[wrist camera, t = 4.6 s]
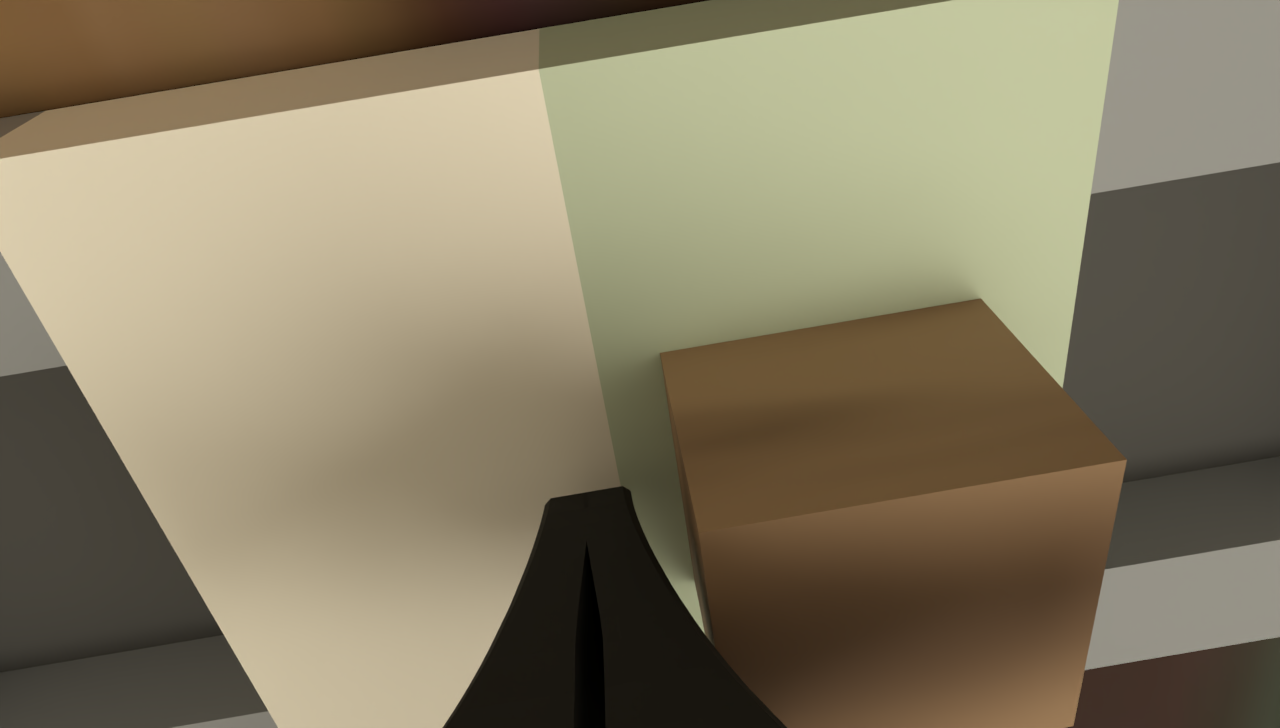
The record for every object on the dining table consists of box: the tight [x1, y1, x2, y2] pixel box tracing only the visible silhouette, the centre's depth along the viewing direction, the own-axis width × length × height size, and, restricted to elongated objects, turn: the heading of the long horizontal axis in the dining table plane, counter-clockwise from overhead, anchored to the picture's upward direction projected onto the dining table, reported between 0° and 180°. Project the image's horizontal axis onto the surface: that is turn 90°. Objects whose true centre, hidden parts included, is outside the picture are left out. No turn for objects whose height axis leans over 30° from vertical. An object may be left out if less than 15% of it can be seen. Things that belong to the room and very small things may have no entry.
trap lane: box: [0, 0, 1280, 728], centre depth 16 cm, size 14×32×2 cm, turn 98°
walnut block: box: [660, 299, 1127, 728], centre depth 13 cm, size 5×5×4 cm
